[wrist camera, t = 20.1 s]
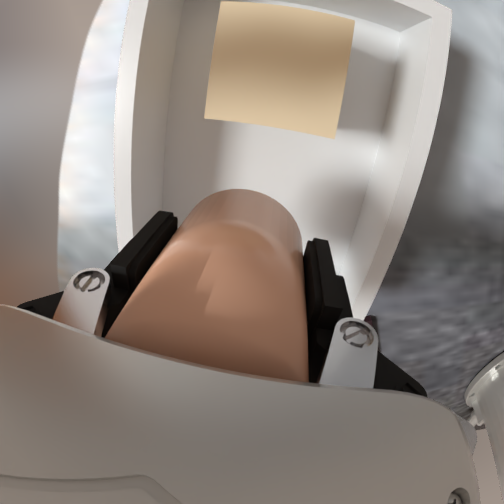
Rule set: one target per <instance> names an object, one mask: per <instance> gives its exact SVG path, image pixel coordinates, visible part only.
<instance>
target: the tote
mask: <svg viewBox="0 0 504 504" xmlns="http://www.w3.org/2000/svg"><path fill="white" fill-rule="evenodd" d="M221 1H236V2H252V3H264V4H273V5H282V6H289V7H295V8H302V9H307V10H313V11H318V12H323V13H327V14H332V15H336V16H340V17H344V18H348V19H352V20H355V25H354V32H353V39H352V46H351V52H350V59H349V65H348V71H347V77H346V82H345V88H344V94H343V99H342V104H341V110H340V115H339V120H338V125H337V130H336V135H335V139H331V138H326V137H322V136H317V135H312V134H307V133H302V132H297V131H292V130H286V129H281V128H275V127H269V126H262V125H256V124H249V123H241V122H233V121H225V120H215V119H205V118H204V115H205V106H206V98H207V89H208V81H209V74H210V67H211V59H212V53H213V46H214V39H215V33H216V27H217V21H218V15H219V10H220V4H221ZM451 22H452V10H451V9H449V8H448V7H446V6H444V5H442V4H440V3H438V2H436V1H434V0H130V2H129V7H128V11H127V17H126V22H125V27H124V33H123V39H122V46H121V53H120V61H119V69H118V79H117V90H116V103H115V121H114V196H115V215H116V228H117V240H118V250H119V252H120V251H121V250H122V249H123V248H124V246H125V245H126V244H127V243H128V242H129V241H130V240H131V239H132V238H133V237H134V236H135V235H136V234H137V233H138V232H139V231H140V230H141V229H142V228H143V227H144V226H145V224H146V223H147V222H148V221H149V220H150V219H151V218H152V217H153V216H154V215H155V214H156V213H157V212H158V211H159V210H160V211H167V212H173V214H174V216H175V217H177V218H178V228H179V226H180V225H181V224H182V222H183V221H184V220H185V218H186V217H187V216H188V214H189V213H190V212H191V210H192V209H193V208H194V207H195V206H196V205H197V204H198V203H199V202H200V201H201V200H203V199H204V198H206V197H207V196H209V195H211V194H214V193H216V192H219V191H223V190H229V189H247V190H253V191H257V192H260V193H263V194H265V195H267V196H269V197H271V198H273V199H275V200H276V201H277V202H279V203H280V204H282V205H283V206H284V207H285V208H286V209H287V210H288V211H289V213H290V214H291V215H292V216H293V218H294V219H295V221H296V223H297V225H298V227H299V230H300V233H301V237H302V246H303V255H304V251H305V248H306V244H307V241H308V240H310V241H312V240H313V238H319V239H324V240H328V242H329V246H330V250H331V254H332V259H333V263H334V267H335V272H336V275H340V276H343V277H344V280H345V284H346V288H347V292H348V297H349V301H350V305H351V310H352V314H353V318H357V319H361V320H363V321H364V319H365V317H366V315H367V313H368V311H369V308H370V306H371V304H372V302H373V300H374V298H375V296H376V294H377V292H378V290H379V287H380V285H381V283H382V281H383V279H384V276H385V274H386V272H387V270H388V267H389V265H390V263H391V260H392V258H393V255H394V253H395V251H396V248H397V246H398V243H399V241H400V238H401V235H402V233H403V230H404V228H405V225H406V222H407V219H408V217H409V214H410V211H411V208H412V205H413V202H414V199H415V196H416V193H417V190H418V187H419V184H420V181H421V178H422V174H423V171H424V168H425V164H426V161H427V157H428V154H429V150H430V146H431V142H432V138H433V134H434V130H435V126H436V122H437V117H438V113H439V108H440V103H441V98H442V93H443V87H444V81H445V75H446V68H447V61H448V54H449V45H450V35H451Z"/></svg>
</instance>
